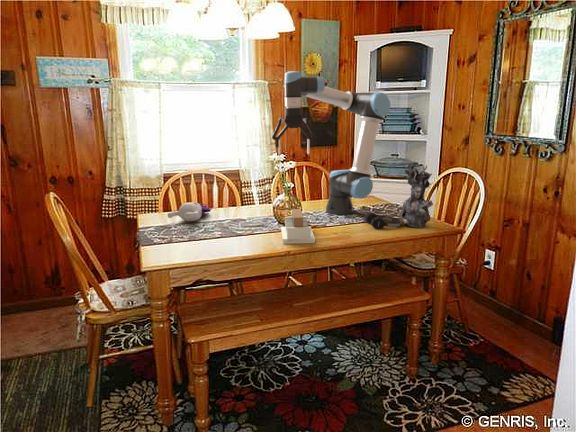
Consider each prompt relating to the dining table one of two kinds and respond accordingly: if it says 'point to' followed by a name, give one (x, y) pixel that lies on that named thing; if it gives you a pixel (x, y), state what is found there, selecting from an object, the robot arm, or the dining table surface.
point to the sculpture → (416, 199)
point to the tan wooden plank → (297, 218)
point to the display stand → (297, 232)
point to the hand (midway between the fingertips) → (294, 154)
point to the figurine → (190, 211)
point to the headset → (381, 220)
